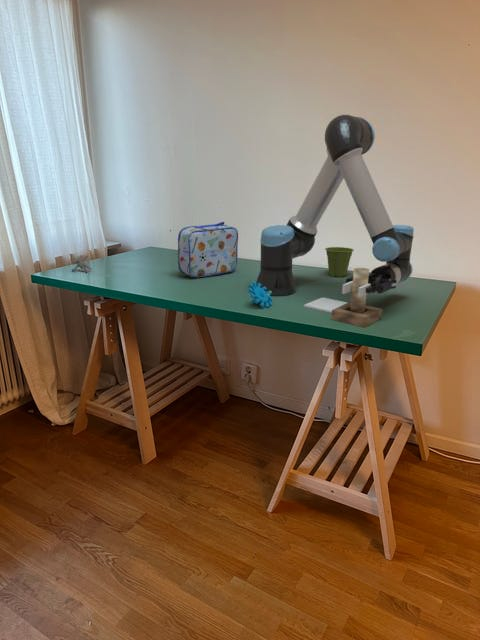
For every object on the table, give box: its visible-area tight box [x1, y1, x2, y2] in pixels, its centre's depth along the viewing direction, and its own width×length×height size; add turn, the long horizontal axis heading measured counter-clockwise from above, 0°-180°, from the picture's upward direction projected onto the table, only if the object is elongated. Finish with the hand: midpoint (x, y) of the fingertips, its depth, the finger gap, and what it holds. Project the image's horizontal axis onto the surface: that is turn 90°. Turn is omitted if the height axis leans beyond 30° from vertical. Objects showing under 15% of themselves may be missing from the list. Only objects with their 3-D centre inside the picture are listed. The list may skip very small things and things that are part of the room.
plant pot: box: [324, 246, 354, 278], centre depth 191 cm, size 12×12×11 cm
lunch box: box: [177, 221, 239, 278], centre depth 190 cm, size 28×10×22 cm, turn 129°
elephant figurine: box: [71, 255, 93, 274], centre depth 196 cm, size 10×6×9 cm
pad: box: [303, 296, 348, 314], centre depth 150 cm, size 12×12×1 cm
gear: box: [247, 281, 274, 308], centre depth 151 cm, size 11×6×10 cm
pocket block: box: [330, 301, 383, 328], centre depth 137 cm, size 11×11×3 cm
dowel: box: [350, 267, 370, 314], centre depth 135 cm, size 4×4×14 cm
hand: (351, 290), depth 131 cm, fingers closed on dowel, 4 cm apart
